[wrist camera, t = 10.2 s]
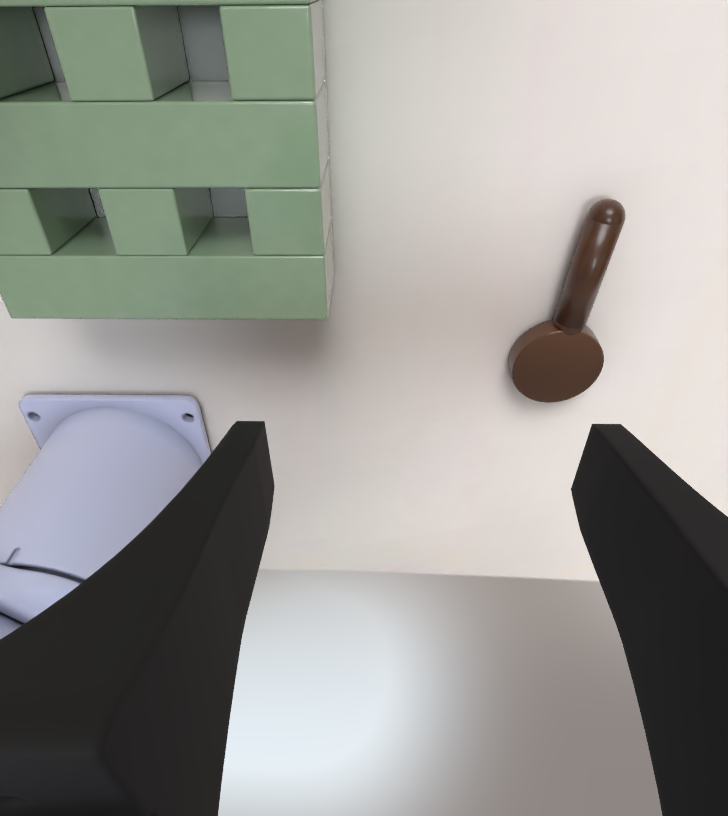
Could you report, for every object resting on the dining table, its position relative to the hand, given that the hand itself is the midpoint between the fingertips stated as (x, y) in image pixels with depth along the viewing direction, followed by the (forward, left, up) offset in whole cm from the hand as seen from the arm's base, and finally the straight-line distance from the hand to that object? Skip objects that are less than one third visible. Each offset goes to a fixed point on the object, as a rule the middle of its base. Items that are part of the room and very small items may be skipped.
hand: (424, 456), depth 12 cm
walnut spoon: (+3, -7, -10) cm, 12 cm away
